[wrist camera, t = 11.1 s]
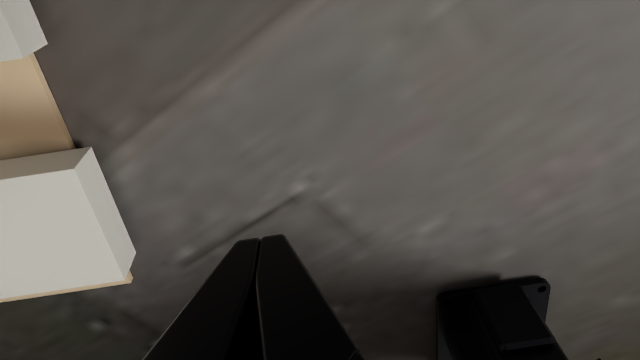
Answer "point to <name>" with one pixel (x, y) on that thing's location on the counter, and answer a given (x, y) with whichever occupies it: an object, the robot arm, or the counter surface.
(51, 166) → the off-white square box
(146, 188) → the counter surface
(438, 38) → the counter surface
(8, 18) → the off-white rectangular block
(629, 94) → the counter surface
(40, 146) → the cork mat
